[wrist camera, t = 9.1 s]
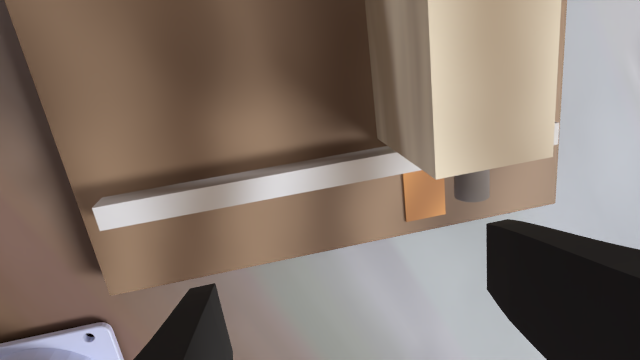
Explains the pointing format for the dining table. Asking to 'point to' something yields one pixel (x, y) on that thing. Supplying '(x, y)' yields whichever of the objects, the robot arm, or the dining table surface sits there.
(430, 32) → the block
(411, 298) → the dining table surface
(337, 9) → the walnut board
